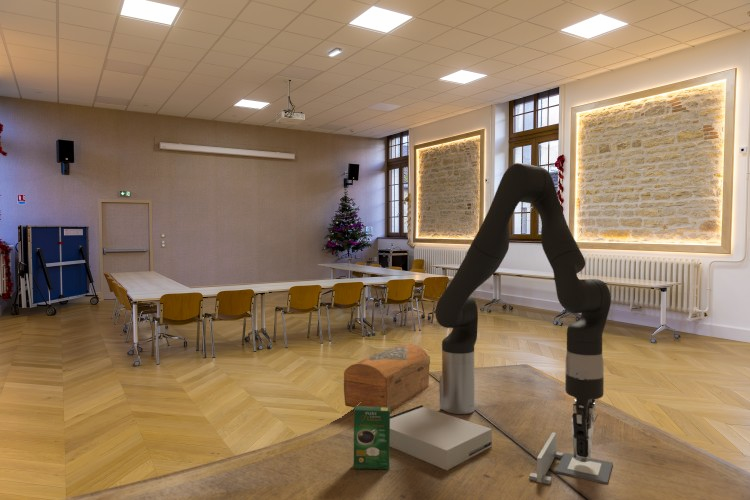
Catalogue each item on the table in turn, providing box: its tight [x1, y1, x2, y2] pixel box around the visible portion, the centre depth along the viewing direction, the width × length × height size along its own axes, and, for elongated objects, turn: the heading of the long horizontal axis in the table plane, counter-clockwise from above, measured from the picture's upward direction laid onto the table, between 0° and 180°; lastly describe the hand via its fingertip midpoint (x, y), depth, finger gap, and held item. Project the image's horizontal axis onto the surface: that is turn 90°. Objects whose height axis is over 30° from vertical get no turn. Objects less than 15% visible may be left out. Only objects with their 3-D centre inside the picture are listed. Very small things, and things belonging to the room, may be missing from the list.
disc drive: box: [389, 405, 493, 471], centre depth 120 cm, size 18×22×5 cm
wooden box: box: [343, 343, 431, 413], centre depth 157 cm, size 30×16×14 cm, turn 149°
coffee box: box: [353, 406, 391, 471], centre depth 108 cm, size 8×3×13 cm, turn 86°
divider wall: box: [528, 431, 564, 485], centre depth 107 cm, size 4×15×5 cm, turn 149°
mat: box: [555, 452, 613, 485], centre depth 106 cm, size 10×10×1 cm
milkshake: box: [570, 413, 599, 462], centre depth 106 cm, size 5×5×10 cm
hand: (584, 451), depth 106 cm, fingers closed on milkshake, 4 cm apart
